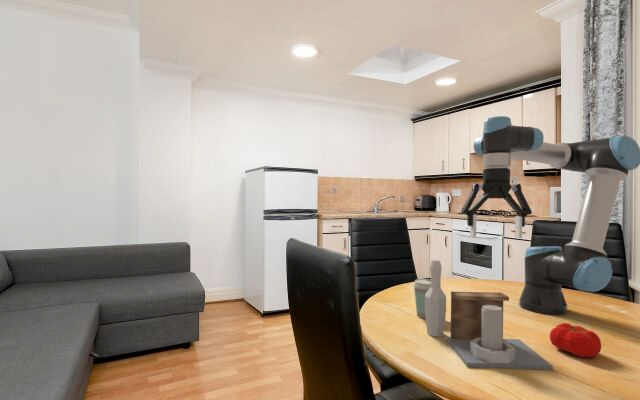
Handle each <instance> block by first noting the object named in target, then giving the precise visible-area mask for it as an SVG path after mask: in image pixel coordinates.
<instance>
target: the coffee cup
mask: <svg viewBox="0 0 640 400" xmlns="http://www.w3.org/2000/svg"><path fill="white" fill-rule="evenodd" d="M412 287H413V288H414V296H415V297H414V299H415V307H416V308H415V309H416V310H415V311H416V316H417V317H418V318H420V319H424V320H426V317H425V294H426V293H427V291H428V290H429V289H430V287H431V279H429V278H427V279H426V278H419V279H417V278H416V279H415V280H414V283H413V286H412Z"/></svg>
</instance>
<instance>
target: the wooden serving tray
mask: <svg viewBox="0 0 640 400" xmlns="http://www.w3.org/2000/svg"><path fill="white" fill-rule="evenodd" d="M505 301H506V302H509V301H510V297H509V296H508V295H506V294H504V292H486V291H485V292H483V291H482V292H481V291H479V292H478V291H450V337H451V338H452V339H475V338H477V337H479V338H481V328H482V308H483V307H482V306H483V305H495V306H499V307H501V308H502V311H503V312H504V302H505ZM503 339H504V335H503V336H502V340H503Z"/></svg>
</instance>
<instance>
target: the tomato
mask: <svg viewBox="0 0 640 400" xmlns="http://www.w3.org/2000/svg"><path fill="white" fill-rule="evenodd" d="M549 340H550V343H551V344H552V346H554V347H555V348H556V349H558V350H561V351H563V352H566V353H570V354H572V355H574V356H576V357H580V358H595V357H597V356H598V355H599V354H600V353H601V350H602V344H601V343H602V341H601V339H600V336H599V335H598V334H597V333H596V332H594V331H592V330H589V329H588V328H585V327H583V326H580V325H572V324H571V323H569V322H568V323H567V322H563V323H559V324H557V325H556V327H553V328H552V329H551V330H550V333H549Z"/></svg>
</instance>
